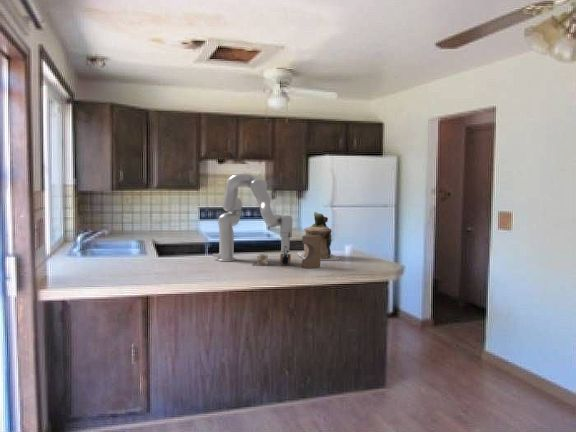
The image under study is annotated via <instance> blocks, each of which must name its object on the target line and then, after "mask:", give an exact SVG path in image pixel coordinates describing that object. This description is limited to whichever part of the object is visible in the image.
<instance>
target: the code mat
mask: <svg viewBox="0 0 576 432" xmlns="http://www.w3.org/2000/svg"><path fill="white" fill-rule="evenodd" d="M251 267H297V263H296V262H290V265H280V262H268V265H257V262H252V264H251Z"/></svg>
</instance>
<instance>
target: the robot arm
mask: <svg viewBox="0 0 576 432" xmlns="http://www.w3.org/2000/svg"><path fill="white" fill-rule="evenodd" d="M242 187H243V188H245V187H246V188H247V187H248V188H250V190H251V192H252V194H253V196H254V197H255V199H256V201H257V203H258V205H259V212H260V215H261V217H262V219H263V221H264V223H265V224H266V225H267V227H269V228H275V227H280V228H279V229H280V230H279V231H280V232H279V237H280V238H281V241H280V243H281V244H280V245H281V249H280V254H283V264H288V254H290V247H291V246H290V243H291V242H290V241H291V238H292V236H293V216H291V215H282V214H274V213H273V211H272V209H271V201H272V198H271V196H270V193H268V190H267V189H268V183H267V181H266V180H265V179H263V178H261V177H258V176H255V175H252V174H250V173H237V174H232V175H231V176H230V177H228V179H227V182H226V187H225V193H224V197H223V203H222V208H223V210H224V211H226V212H225V213H222V214H221V215H219V216H218V219H217V225H218V231H219V232H218V235H219V241H218V242H219V245H218V246H219V247H218V248H219V250H218V251H219V252H218V253H212V257H213V258H216V260H217V261H219V262H233V261H236V260H237V257H235V256H234V253H235V252H234V249H235V248H234V245H235V243H234V235H235V234H234V226H237V225H238V224H239V221H240V219H241V214H242V208H243V203H242V202H243V201H242V200H241V198H239V197H238V195H239V188H242Z"/></svg>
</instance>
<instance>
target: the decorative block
mask: <svg viewBox="0 0 576 432" xmlns="http://www.w3.org/2000/svg"><path fill="white" fill-rule="evenodd" d="M301 240H302V242H301V243H302V244H303V245H304V244H306V245H307V246H308V248H309V254H308V256H307V257H306V258H305V259H302V260H301V268H302V269H303V268H304V269H313V268H321V261H320V250H321V236H320V235H308V236H305V235H302V239H301Z"/></svg>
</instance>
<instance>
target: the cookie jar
mask: <svg viewBox="0 0 576 432" xmlns="http://www.w3.org/2000/svg"><path fill="white" fill-rule="evenodd" d="M313 216H314V223H313V224H312V225H311V226H309V227H305V228H304V232H305V235H304V236H308V235H320V236H321V250H320V262H321V261H322V262H323V261H339V260H340V257H339V256H336V255H335V254H333V253H331V252H332V251H331V248H330V247H331V244H332V232H333V231H332V228H329V226H327V223H328V221H329V218H328V217H327V216H324V215H323V213H318V212H316V211H315V212H314V213H313ZM303 250H304V252H297V256H298V257H300V258H302V260H304V259H305V258H306V257H307V256H308V254H309V248H308V246H307V245H306V244H303Z"/></svg>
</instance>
